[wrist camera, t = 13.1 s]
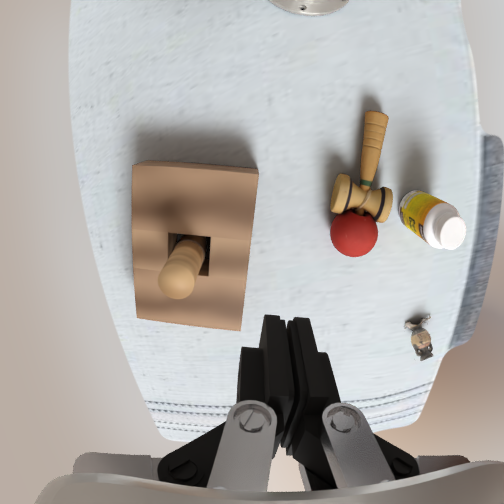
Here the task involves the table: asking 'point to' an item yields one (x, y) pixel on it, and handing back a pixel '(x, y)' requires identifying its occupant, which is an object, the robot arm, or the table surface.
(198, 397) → the table surface
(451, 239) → the supplement bottle
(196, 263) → the oak peg
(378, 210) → the kendama
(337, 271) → the table surface
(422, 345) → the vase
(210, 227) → the seat board
